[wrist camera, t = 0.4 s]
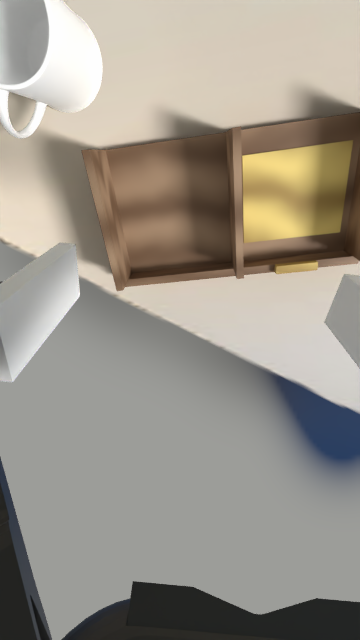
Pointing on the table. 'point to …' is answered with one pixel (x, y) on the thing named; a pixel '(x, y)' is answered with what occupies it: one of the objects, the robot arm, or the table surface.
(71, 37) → the mug
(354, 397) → the table surface
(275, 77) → the table surface
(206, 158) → the rack
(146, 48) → the table surface
